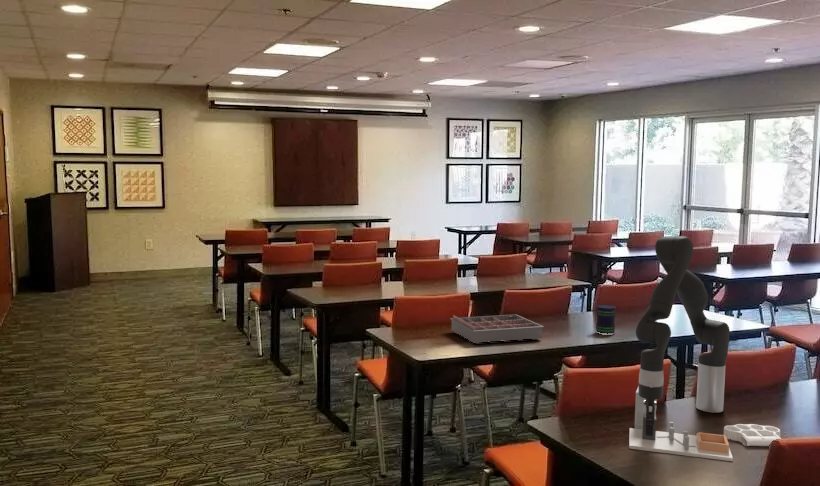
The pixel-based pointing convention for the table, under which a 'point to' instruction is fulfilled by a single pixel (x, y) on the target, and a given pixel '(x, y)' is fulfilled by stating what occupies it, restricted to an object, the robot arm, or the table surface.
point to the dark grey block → (645, 429)
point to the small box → (639, 410)
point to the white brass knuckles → (752, 434)
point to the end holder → (709, 444)
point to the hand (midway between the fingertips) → (648, 430)
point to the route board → (673, 444)
